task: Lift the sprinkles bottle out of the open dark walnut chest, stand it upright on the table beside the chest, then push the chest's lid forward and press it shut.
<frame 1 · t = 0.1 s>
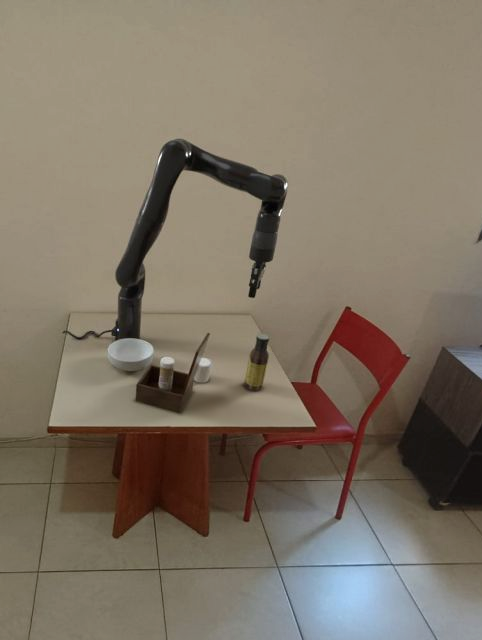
hand: (253, 292, 149), 29 cm above the table, tool pointing down, fingers open, 8 cm apart
sprinkles bottle: (164, 395, 148), point 1 cm above the table, touching chest
cereal bowl: (130, 365, 164), on the table
chest lid: (195, 364, 137), point 15 cm above the table, hinge at 100.0°
sauce bottle: (252, 386, 155), on the table
chest: (164, 396, 148), on the table
shot glass: (200, 378, 158), on the table
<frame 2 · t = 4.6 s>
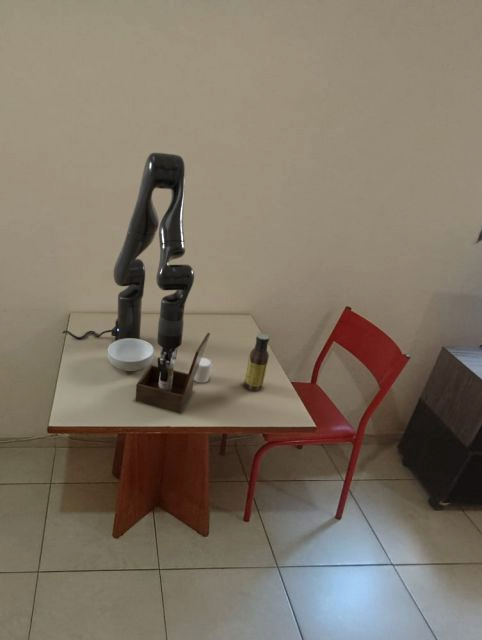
hand: (166, 376, 144), 8 cm above the table, tool pointing down, fingers closed on sprinkles bottle, 4 cm apart
sprinkles bottle: (164, 395, 148), point 1 cm above the table, touching chest, gripper
everything else where it was.
when the fingers open (7 cm above the table, at t = 12.5 s): sprinkles bottle stays where it is, on the table.
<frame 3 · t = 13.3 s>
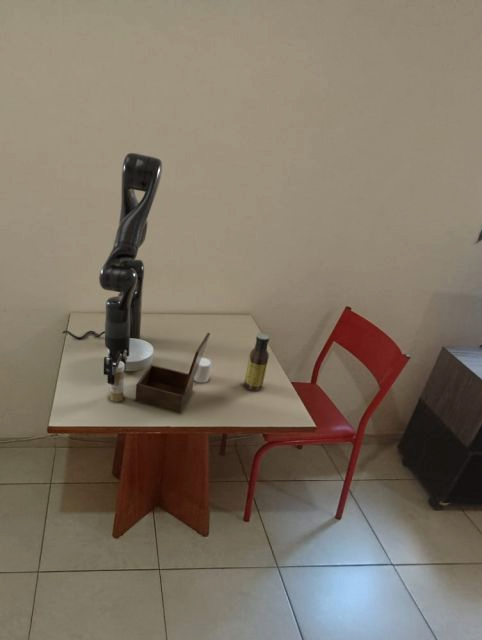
hand: (116, 376, 142), 9 cm above the table, tool pointing down, fingers open, 8 cm apart
sprinkles bottle: (116, 398, 147), on the table
everything else where it was.
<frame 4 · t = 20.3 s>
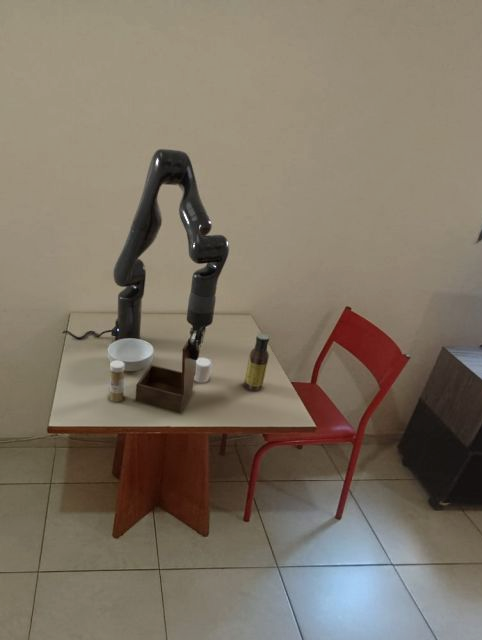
hand: (194, 358, 136), 17 cm above the table, tool pointing down, fingers closed
chest lid: (189, 362, 138), point 15 cm above the table, hinge at 85.7°, touching gripper
everything else where it was.
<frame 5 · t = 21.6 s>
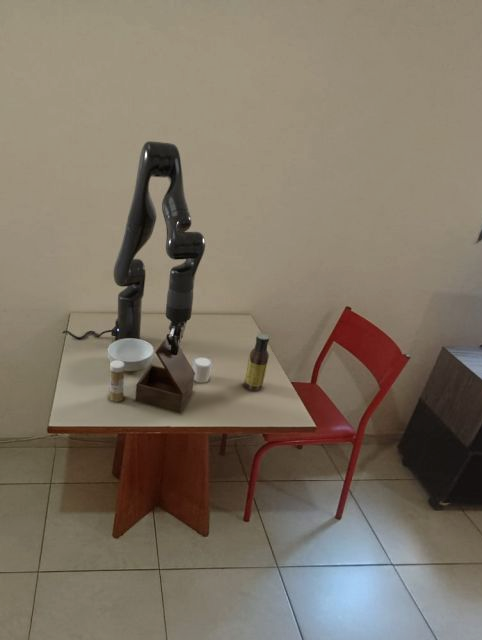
hand: (174, 353, 139), 17 cm above the table, tool pointing down, fingers closed
chest lid: (176, 363, 140), point 14 cm above the table, hinge at 53.6°
everything else where it was.
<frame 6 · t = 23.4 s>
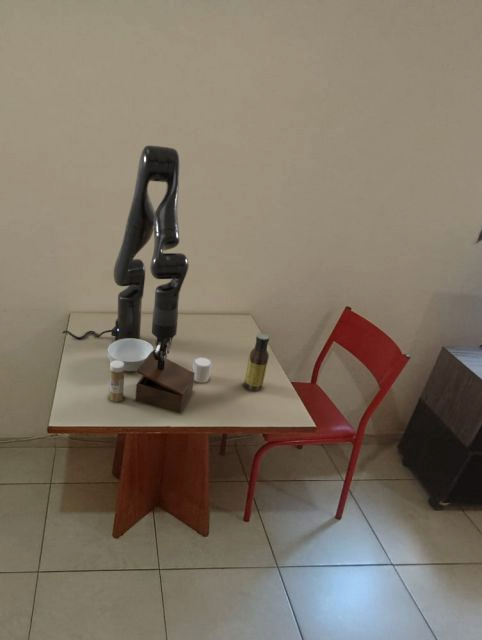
hand: (161, 368, 143), 10 cm above the table, tool pointing down, fingers closed
chest lid: (166, 372, 143), point 9 cm above the table, hinge at 15.7°, touching gripper
everything else where it was.
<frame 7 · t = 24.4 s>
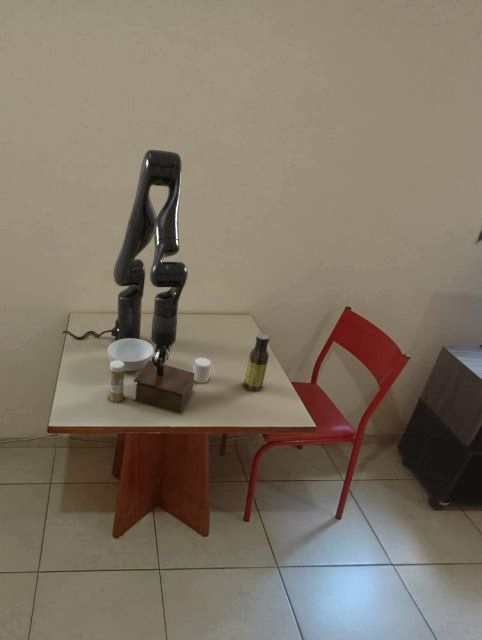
hand: (160, 374, 145), 8 cm above the table, tool pointing down, fingers closed
chest lid: (164, 377, 144), point 8 cm above the table, hinge at 2.6°
everything else where it was.
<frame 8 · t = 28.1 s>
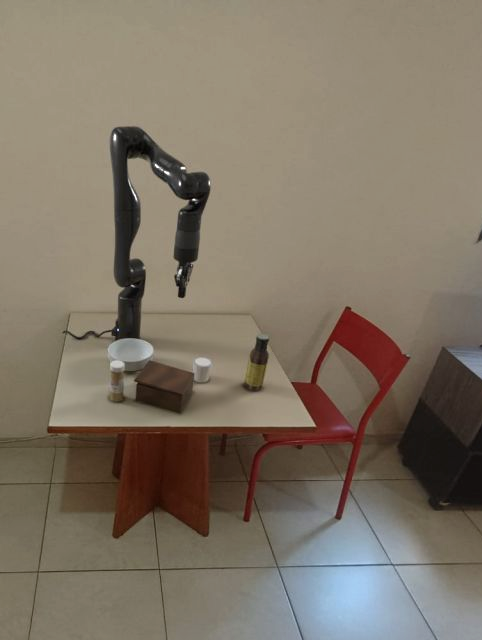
hand: (181, 297, 145), 29 cm above the table, tool pointing down, fingers closed
nothing on the table moved.
at the end: sprinkles bottle inside the target area (0.1 cm from its centre), on the table; sprinkles bottle tilted 0°; chest lid at +3° (first picture: +100°) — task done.
